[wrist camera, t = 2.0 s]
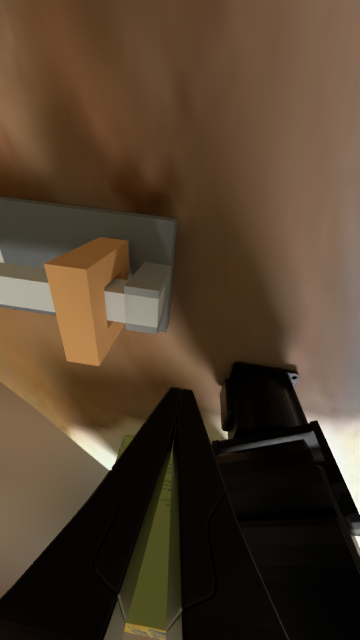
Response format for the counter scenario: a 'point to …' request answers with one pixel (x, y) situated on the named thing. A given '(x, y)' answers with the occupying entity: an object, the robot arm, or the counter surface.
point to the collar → (87, 297)
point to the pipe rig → (74, 231)
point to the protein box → (153, 569)
